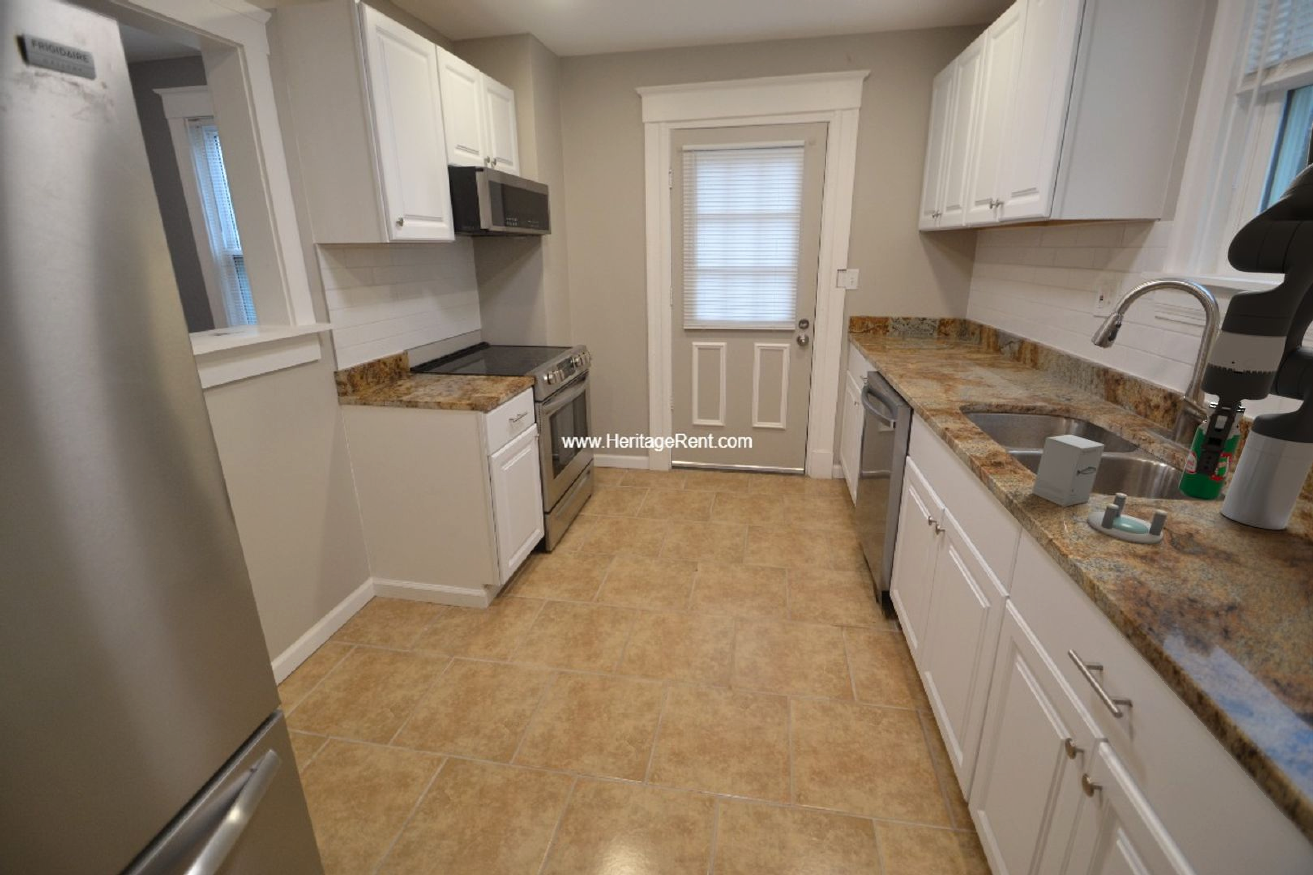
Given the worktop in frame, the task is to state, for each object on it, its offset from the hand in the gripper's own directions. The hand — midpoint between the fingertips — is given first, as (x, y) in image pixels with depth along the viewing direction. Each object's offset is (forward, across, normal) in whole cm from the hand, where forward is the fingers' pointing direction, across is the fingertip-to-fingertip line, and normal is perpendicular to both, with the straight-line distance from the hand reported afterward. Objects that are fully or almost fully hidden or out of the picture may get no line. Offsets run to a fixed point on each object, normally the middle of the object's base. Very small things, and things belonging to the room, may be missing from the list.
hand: (1206, 469), depth 93 cm
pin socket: (+16, -8, -8) cm, 20 cm away
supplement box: (+17, -15, -20) cm, 30 cm away
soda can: (+5, 0, 0) cm, 5 cm away
